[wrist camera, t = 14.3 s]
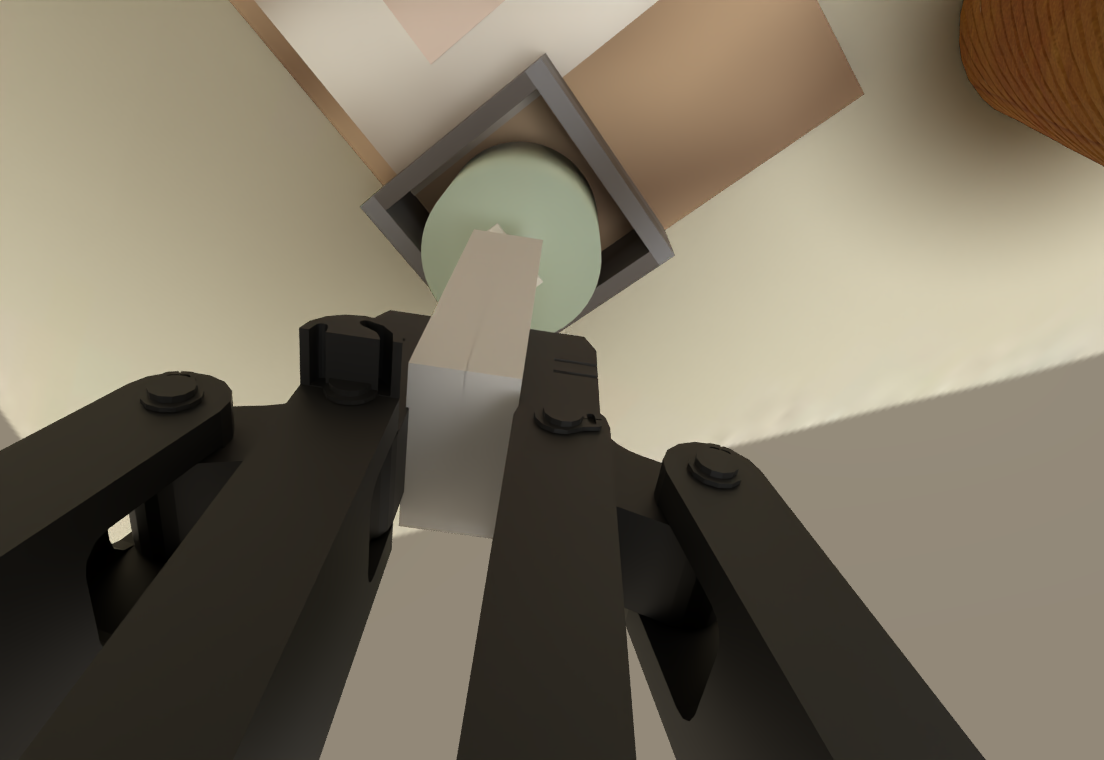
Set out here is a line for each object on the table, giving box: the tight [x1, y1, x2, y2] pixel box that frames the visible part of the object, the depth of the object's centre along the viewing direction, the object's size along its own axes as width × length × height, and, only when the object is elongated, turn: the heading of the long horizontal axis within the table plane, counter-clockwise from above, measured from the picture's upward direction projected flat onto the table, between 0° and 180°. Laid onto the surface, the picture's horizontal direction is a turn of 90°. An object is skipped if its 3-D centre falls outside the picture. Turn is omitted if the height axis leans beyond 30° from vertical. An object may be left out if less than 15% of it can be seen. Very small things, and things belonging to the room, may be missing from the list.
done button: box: [421, 142, 601, 333], centre depth 19 cm, size 4×4×4 cm
